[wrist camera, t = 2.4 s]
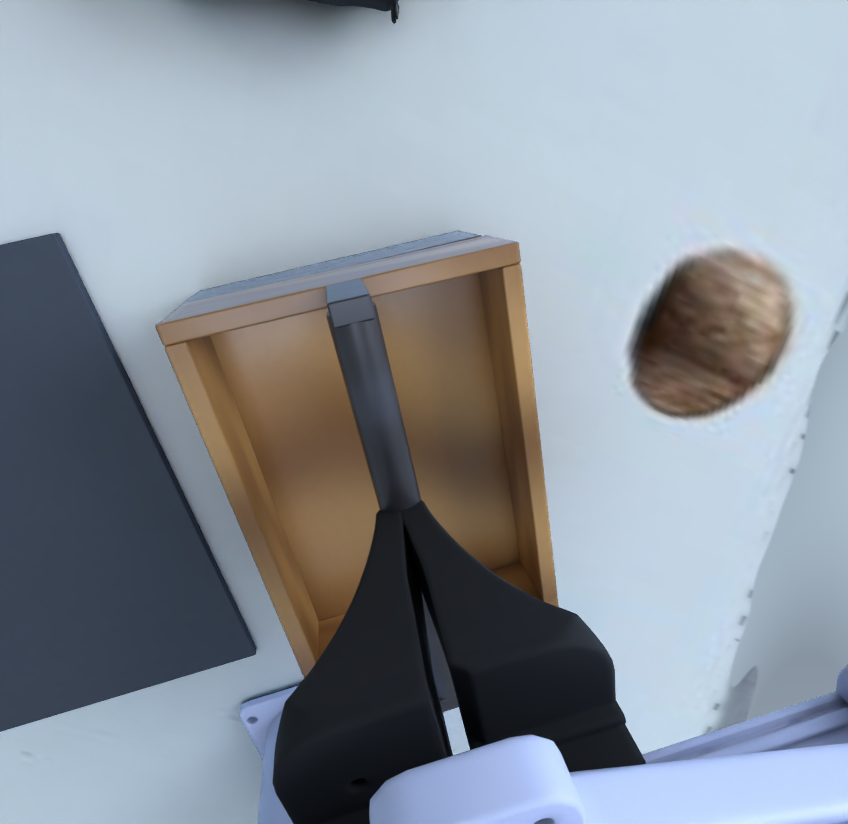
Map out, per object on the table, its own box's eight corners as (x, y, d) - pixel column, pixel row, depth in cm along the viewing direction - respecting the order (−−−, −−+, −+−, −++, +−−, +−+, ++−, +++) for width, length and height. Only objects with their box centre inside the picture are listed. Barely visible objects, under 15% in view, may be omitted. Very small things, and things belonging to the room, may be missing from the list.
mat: (256, 648, 25) (256, 655, 25) (-16, 730, 24) (-21, 738, 24) (59, 232, 17) (53, 233, 17) (-372, 325, 16) (-388, 328, 15)
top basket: (530, 560, 23) (592, 665, 17) (308, 626, 22) (305, 757, 16) (486, 234, 17) (560, 249, 12) (182, 304, 16) (117, 351, 11)
